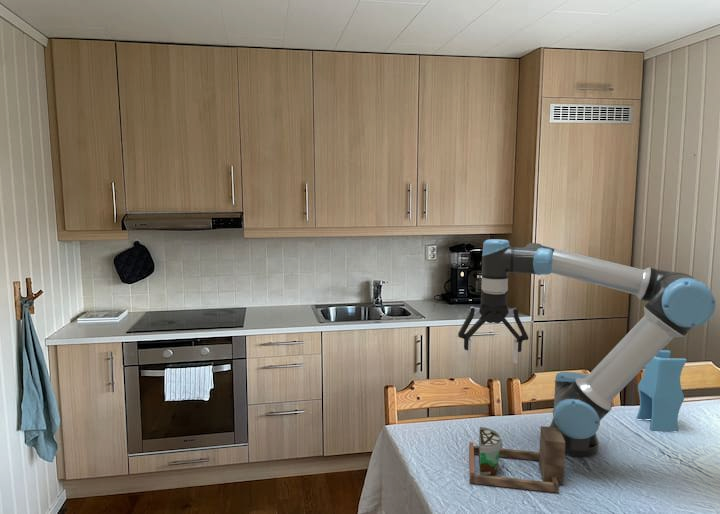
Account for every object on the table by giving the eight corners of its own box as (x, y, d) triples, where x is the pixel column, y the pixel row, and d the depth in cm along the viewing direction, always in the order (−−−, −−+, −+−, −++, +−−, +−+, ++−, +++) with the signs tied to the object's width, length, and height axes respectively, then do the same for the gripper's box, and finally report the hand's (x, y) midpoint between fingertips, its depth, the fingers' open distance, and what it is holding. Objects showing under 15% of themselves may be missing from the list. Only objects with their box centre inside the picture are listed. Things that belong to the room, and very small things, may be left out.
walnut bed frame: (554, 460, 151) (556, 421, 150) (566, 493, 134) (568, 450, 133) (468, 451, 156) (470, 413, 154) (469, 482, 139) (471, 440, 137)
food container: (503, 482, 140) (504, 448, 138) (480, 480, 141) (481, 445, 140) (499, 459, 152) (501, 427, 150) (478, 457, 153) (479, 425, 152)
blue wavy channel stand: (680, 432, 170) (687, 359, 167) (651, 431, 170) (656, 359, 167) (663, 419, 180) (669, 350, 177) (635, 418, 180) (640, 350, 177)
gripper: (535, 290, 153) (532, 358, 156) (450, 288, 156) (449, 355, 159) (540, 295, 146) (537, 367, 148) (452, 293, 149) (450, 363, 151)
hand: (491, 361), depth 154 cm, fingers open, 13 cm apart
